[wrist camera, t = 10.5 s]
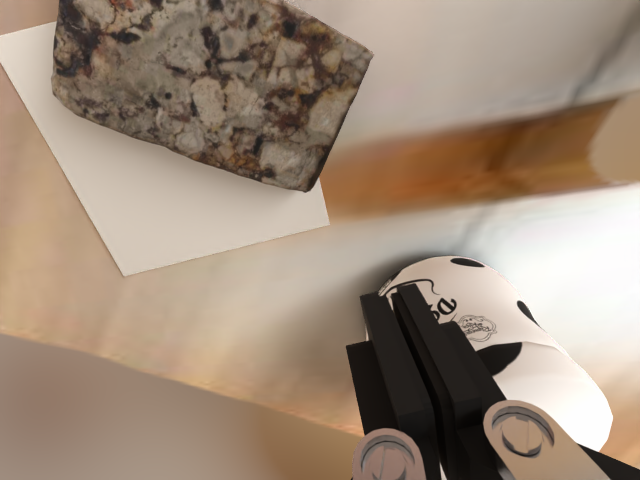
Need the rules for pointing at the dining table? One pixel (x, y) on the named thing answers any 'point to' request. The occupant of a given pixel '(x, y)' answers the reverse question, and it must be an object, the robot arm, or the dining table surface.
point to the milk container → (510, 343)
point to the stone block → (212, 80)
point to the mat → (150, 179)
